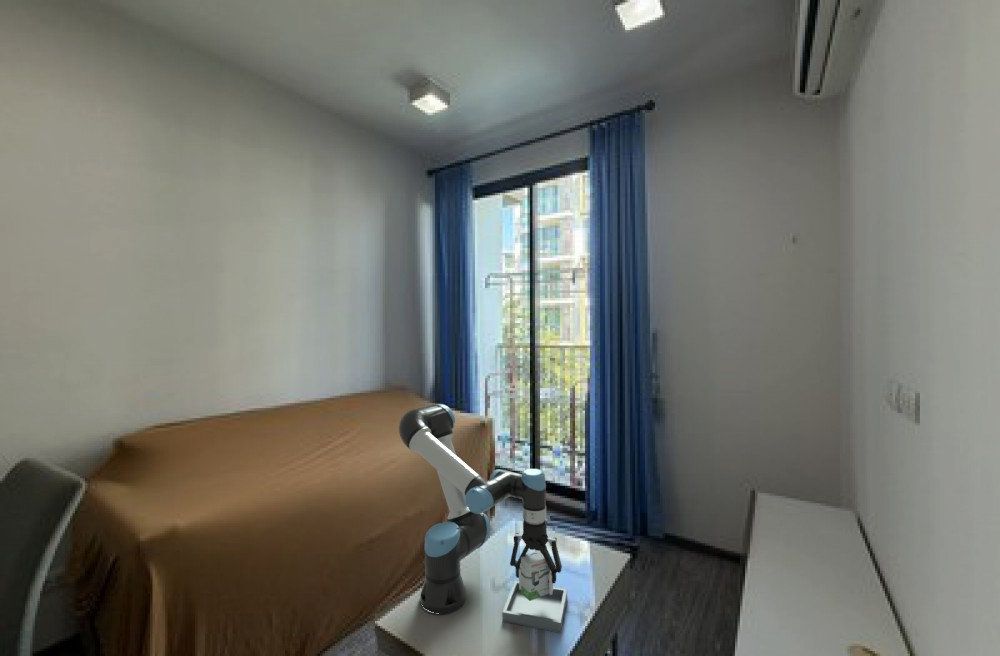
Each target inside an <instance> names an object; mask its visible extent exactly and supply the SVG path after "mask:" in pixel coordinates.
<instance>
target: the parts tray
mask: <svg viewBox="0 0 1000 656" xmlns="http://www.w3.org/2000/svg"><path fill="white" fill-rule="evenodd" d="M567 601H568V589H567V588H562V587H556V586H553V593H552V595H550V593H548V594H546V595H543V596H541V597H538V598H536V599H533V600H531V601H529V600H528V599H527V598H526V597H525V596H524V595H523V594H522V593H521V590H519V580H514V582H513V585H512V586H511V589H510V592H509V594H508V597H507V600H506V602H505V604H504V607H503V609H502V612H501V614H502V617H501V618H502V623H507V624H512V625H517V626H523V627H528V628H532V629H539V630H544V631H549V632H553V633H559V634H562V631H563V630H562V629H563V624H564V620H565V619H564V618H565V612H566V607H567Z"/></svg>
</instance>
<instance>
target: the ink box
mask: <svg viewBox="0 0 1000 656" xmlns="http://www.w3.org/2000/svg"><path fill="white" fill-rule="evenodd" d="M549 573H550V569H549V567H548V565H547V562H546V560H545V558H544V556H543V554H541V552H540V551H537V550H535V551H533V552H530V553H526V555H525V557H521V593H522V594H523V595H524V596H525V597H526V598H527V599H528V600H529V601H531V600H533V599H536V598H538V597H541V596H543V595H546V594H548V593H550V590H549Z"/></svg>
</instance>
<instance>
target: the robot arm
mask: <svg viewBox="0 0 1000 656" xmlns="http://www.w3.org/2000/svg"><path fill="white" fill-rule="evenodd" d="M455 423H456V418H455V415H454V412H453V411H452V409H451V407H449V406H448V405H446V404H444V403H436V404H435V403H433V404H431V405H426V406H423V407H418V408H414V409H410V410H409V411H407V412H406V413H404V414H403V415H402V417H401V418H400V421H399V425H398V434H399V437H400V439H401V441H402V443H403V444H404V445H405V447H406V448H408V449H409V450H410V452H415V453H418V455H420V456H421V457H422V458H423V459H424V460H426V462H428V464H430V465H431V466H432V467H433V468H434V469H435V470H436V472H437V474H438V479H439V481H440V486H441V488H442V491H443V495H444V498H445V501H446V505H447V508H448V510H449V511H448V512H449V513H448V515H447V521H443V522H442V523H441V522H439V523H435V524H434V525H433V526H431V527H430V528H429V529H428V530H427V532H426V533H425V535H424V546H423V548H424V568H425V569H424V572H425V573H424V574H425V578H424V582H423V584H422V588H421V592H420V595H419V597H420V600H421V603H420V605H421V604H422V605H423V607H424V608H425V609H427V610H429V611H431V612H434V613H439V614H442V615H447V614H451V613H453V612H456V611H457V610H459V609H460V608H462V607H463V605H464V604H465V602H466V599H467V590H466V586H465V583H464V580H463V577H462V575H461V561H462V560H464V559H465V558H466V557H468V556H469V555H470V554H472V553H473V552H474V551H476V550H478V549H480V548H481V547H483V545H484V544H485V543H486V542H487V541H488V540H489V537H490V535H491V530H492V528H491V522H490V520H489V517H488V515H487V514H486V513H485V512H487V511H489V510H491V508H493V507H495V506H496V505H497V504H499V503H501V502H503V501H504V500H506V499H508V498H509V497H512V498H516V499H520V500H522V501H521V502H522V519H523V520H522V534H520V533H518V532H516V533H515V534H514V536H513V548H512V553H511V557H510V562H509V565H510V567H514V568H515V577H516V578H517V579H518V581H519V590H521V557H525V555H526V554H528V551H529V550H531V551H540V552H541V554H543V556H544V558H545V560H546V562H547V565H548V567H549V569H550V573H549V590H550V595H552V593H553V587H554V584H556V581H557V573H559V574H560V573H561V572H562V568H563V566H562V561H561V558H560V554H559V551H558V547H557V546H558V545H557V540H558V539H557V537H555V536H554V537H553V538H552V537H549V536H548V534H547V531H548V529H547V504H546V501H547V499H546V497H547V495H546V490H547V489H546V488H547V484H546V476H545V475H546V474H545V473H544V471H543V470H542V469H539V468H527V469H525V470H523V471H522V472H521V473H518V472H513V471H509V470H507V469H494V470H493V472H492V473H491V474H490V476H489V479H487V480H486V479H485V478H484V477H482V476H481V475H480V473H478V472H477V471H475V470H474V469H473V468H472V467H471V466H469V465H468V463H466V462H465V461H464V460H463V459H461V458H460V457H459V456H457V453H456V450H455V447H454V445H453V441H452V439H453V436H454V431H453V429H454V427H455ZM522 540H523V542H524V544H525V545H524V548H523V549H522V552H521V553H520V555H519V557H518V559H517V555H518V551H519V545H520V542H521V541H522ZM547 543H548V544H549V546H550V547H551V552H552V556H553V558H552V556H551V554H550V552H549V550H548V547H547V545H546V544H547ZM516 559H517V560H516ZM553 559H554V561H553ZM420 600H419V601H420Z"/></svg>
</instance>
